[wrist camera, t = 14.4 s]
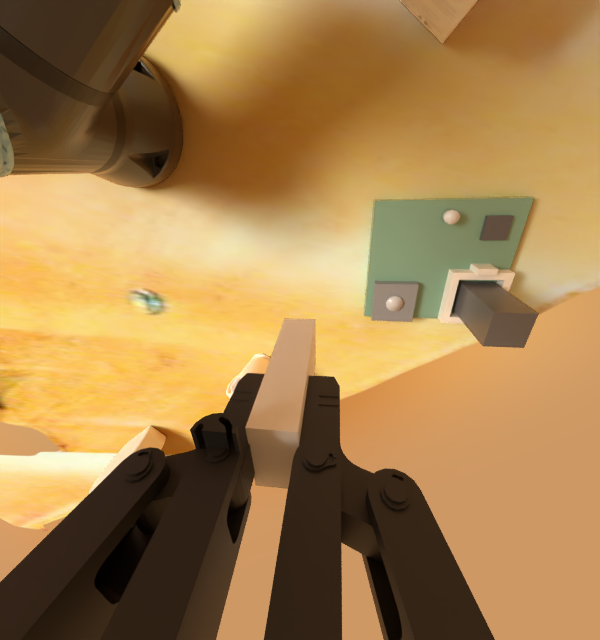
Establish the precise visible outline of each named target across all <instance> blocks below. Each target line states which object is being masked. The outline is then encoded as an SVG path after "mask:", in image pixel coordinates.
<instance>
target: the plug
mask: <svg viewBox="0 0 600 640" xmlns="http://www.w3.org/2000/svg"><path fill="white" fill-rule="evenodd" d="M452 309H453V311H454V312H455V313H456V314H457V316H458V317H459V318H460V319H461V320H462V322H463V323H464V324H465V325H466V326H467V328H468V329H469V330H470V331H471V332H472V334H473V335H474V336H475V337H476V339H477V340H478V341H479V342H480V343H481V344H482V345H483V346H493V347H520V348H524V346H525V344H526V342H527V339H528V337H529V335H530V332H531V330H532V327H533V325H534V323H535V320H536V318H537V316H538V314H539V313H537V312H536V311H534V310H533V309H532V308H530V307H529V306H527V305H526V304H525V303H523V302H522V301H520V300H519V299H517V298H516V297H515V296H513V295H512V294H510V293H509V292H508V291H506V290H505V289H503V288H502V287H501V286H499V285H498V284H496V283H495V282H494V281H459V285H458V289H457V293H456V297H455V301H454V304H453V308H452Z"/></svg>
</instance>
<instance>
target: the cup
mask: <svg viewBox="0 0 600 640" xmlns="http://www.w3.org/2000/svg"><path fill="white" fill-rule="evenodd" d="M269 361H270V357H268V356H267V355H265V354H255V356H254V357H253V358H252V359H251V361H250V362H249V363H248V364H247V365H246V366H245V367H244V369H243V370H242V371H241V373H240V374H239V375H237V376H236V377H235V378H234V379H233V380H232V381H231V382H230V384H229V385H228V387H227V390H226V394H227V395H228V396H229V398H231V396H232V394H233V393H234V389H235V387H236V385H237V383H238V381H239V380H240V379H241V378H242V377H243V376H245V375H246V374H247V373H258V374H265V372H266V369H267V366H268V364H269ZM230 391H232V393H231V394H230Z"/></svg>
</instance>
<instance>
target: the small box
mask: <svg viewBox="0 0 600 640" xmlns="http://www.w3.org/2000/svg"><path fill="white" fill-rule="evenodd" d="M400 2H401V3H402V4H403V5H404V6H405V7H406V8H407V9H408V10H409V11H410V12H411V13H412V14H413V15H414V16H415V17H416V18H417V19H418V20H419V21H420V22H421V23H422V24H423V25H424V26H425V27H426V28H427V29H428V30H429V31H430V32H431V33H432V34H433V35H434V36H435V37H436V38H437V39H438V40H439V41H440V42H441V43H444V42H445V40H446V39H447V38H448V37H449V36H450V35H451V33H452V32H453V31H454V30H455V28H456V27H457V26H458V25H459V23H460V22H461V21H462V20H463V18H464V17H465V16H466V15H467V14H468V12H469V11H470V10H471V9H472V8H473V6H474V5H475V4H476V3H477V2H478V0H400Z"/></svg>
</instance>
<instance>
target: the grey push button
mask: <svg viewBox="0 0 600 640" xmlns="http://www.w3.org/2000/svg"><path fill="white" fill-rule="evenodd" d="M418 286H419V284H418V283H417V281H374V291H373V300H372V310H371V319H372V320H378V321H411V322H412V318H413V313H414V308H415V302H416V297H417V292H418Z"/></svg>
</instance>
